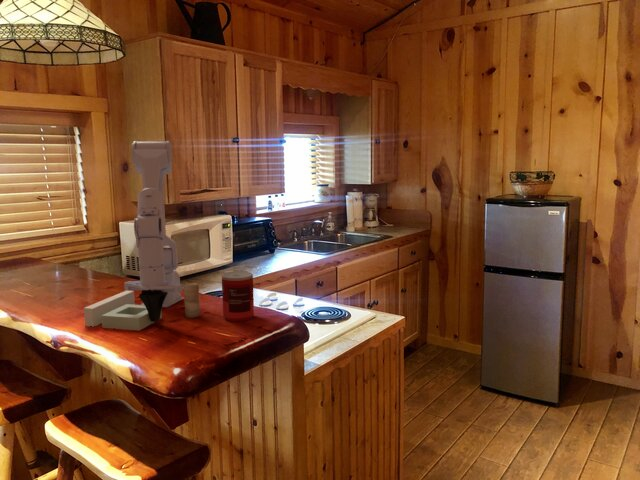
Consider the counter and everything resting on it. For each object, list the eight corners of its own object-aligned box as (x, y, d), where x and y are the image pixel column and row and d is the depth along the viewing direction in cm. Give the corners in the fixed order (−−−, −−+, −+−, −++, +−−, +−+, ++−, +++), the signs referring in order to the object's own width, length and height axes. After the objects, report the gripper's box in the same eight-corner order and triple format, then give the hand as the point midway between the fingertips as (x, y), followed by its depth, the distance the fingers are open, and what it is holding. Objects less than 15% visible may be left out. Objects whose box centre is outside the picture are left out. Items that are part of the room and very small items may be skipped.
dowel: (189, 313, 140) (188, 283, 139) (202, 314, 139) (201, 283, 138) (182, 317, 136) (181, 286, 135) (195, 318, 136) (194, 286, 134)
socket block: (127, 315, 139) (126, 304, 138) (162, 318, 136) (161, 306, 136) (102, 327, 129) (101, 315, 129) (139, 330, 127) (138, 318, 126)
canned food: (239, 310, 142) (237, 269, 140) (260, 316, 137) (259, 273, 135) (216, 317, 136) (214, 275, 134) (238, 323, 131) (236, 279, 129)
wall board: (127, 306, 147) (126, 290, 146) (135, 307, 146) (133, 291, 145) (85, 326, 130) (83, 308, 130) (93, 326, 130) (92, 308, 129)
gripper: (114, 267, 127) (118, 323, 129) (170, 270, 123) (173, 327, 125) (132, 261, 133) (136, 314, 136) (185, 264, 130) (188, 318, 132)
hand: (155, 320), depth 131 cm, fingers closed
